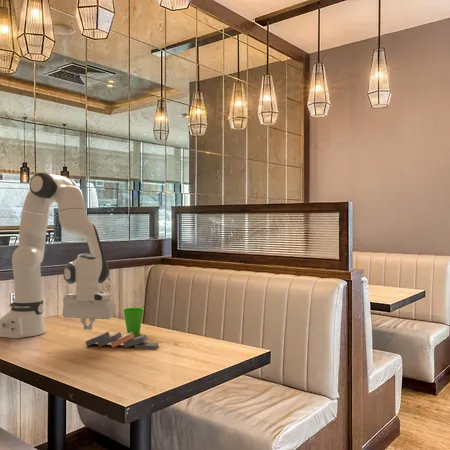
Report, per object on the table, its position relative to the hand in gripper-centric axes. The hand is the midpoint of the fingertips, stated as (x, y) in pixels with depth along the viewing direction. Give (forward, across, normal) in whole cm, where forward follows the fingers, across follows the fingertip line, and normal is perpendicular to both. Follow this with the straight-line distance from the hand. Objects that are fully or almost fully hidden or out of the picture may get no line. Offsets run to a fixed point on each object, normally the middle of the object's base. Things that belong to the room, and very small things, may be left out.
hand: (87, 329), depth 181 cm
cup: (+6, +12, +19) cm, 23 cm away
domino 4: (+5, +16, 0) cm, 17 cm away
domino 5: (+6, +20, 0) cm, 21 cm away
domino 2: (+5, +6, 0) cm, 8 cm away
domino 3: (+5, +11, 0) cm, 12 cm away
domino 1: (+5, 0, 0) cm, 5 cm away
